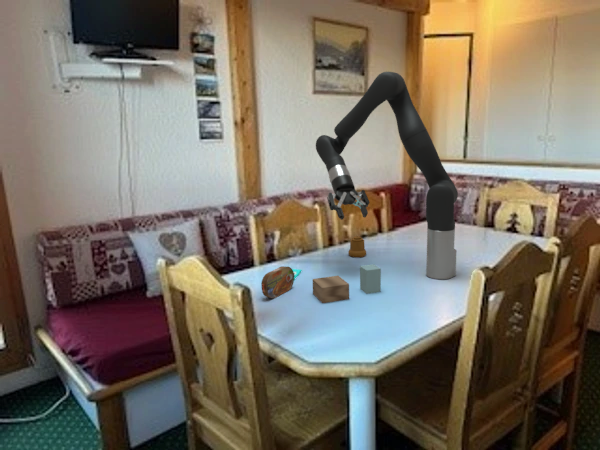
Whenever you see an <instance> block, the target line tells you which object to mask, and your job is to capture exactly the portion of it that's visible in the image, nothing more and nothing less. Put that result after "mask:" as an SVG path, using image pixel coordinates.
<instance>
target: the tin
mask: <svg viewBox="0 0 600 450" xmlns="http://www.w3.org/2000/svg"><path fill="white" fill-rule="evenodd" d="M292 269H293V268H292V267H290V266H284V265H283V266H278V267H277V268H275V269H272V270H271V271H268V272H267V273H266V274H264V275H263V277H262V279H261V293H262V294H263V296H264V297H265V298H268V299H269V298H271V299H277V298H278V297H280V296H282V295H284V294H286V293H288V292H289V291H290V290H291V289H292V287H293V285H294V282H295V280H294V273H293V270H292Z"/></svg>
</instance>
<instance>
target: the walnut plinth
mask: <svg viewBox="0 0 600 450" xmlns="http://www.w3.org/2000/svg"><path fill="white" fill-rule="evenodd" d="M312 295H314V296H315V297H316V298H317V300H319V301H320V302H321V303H322V304H325V303H333V302H339V301H347V300H350V283H348V281H346V280H345V279H343V278H342V277H341V276H340V275H332V276H324V277H317V278H312Z"/></svg>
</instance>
